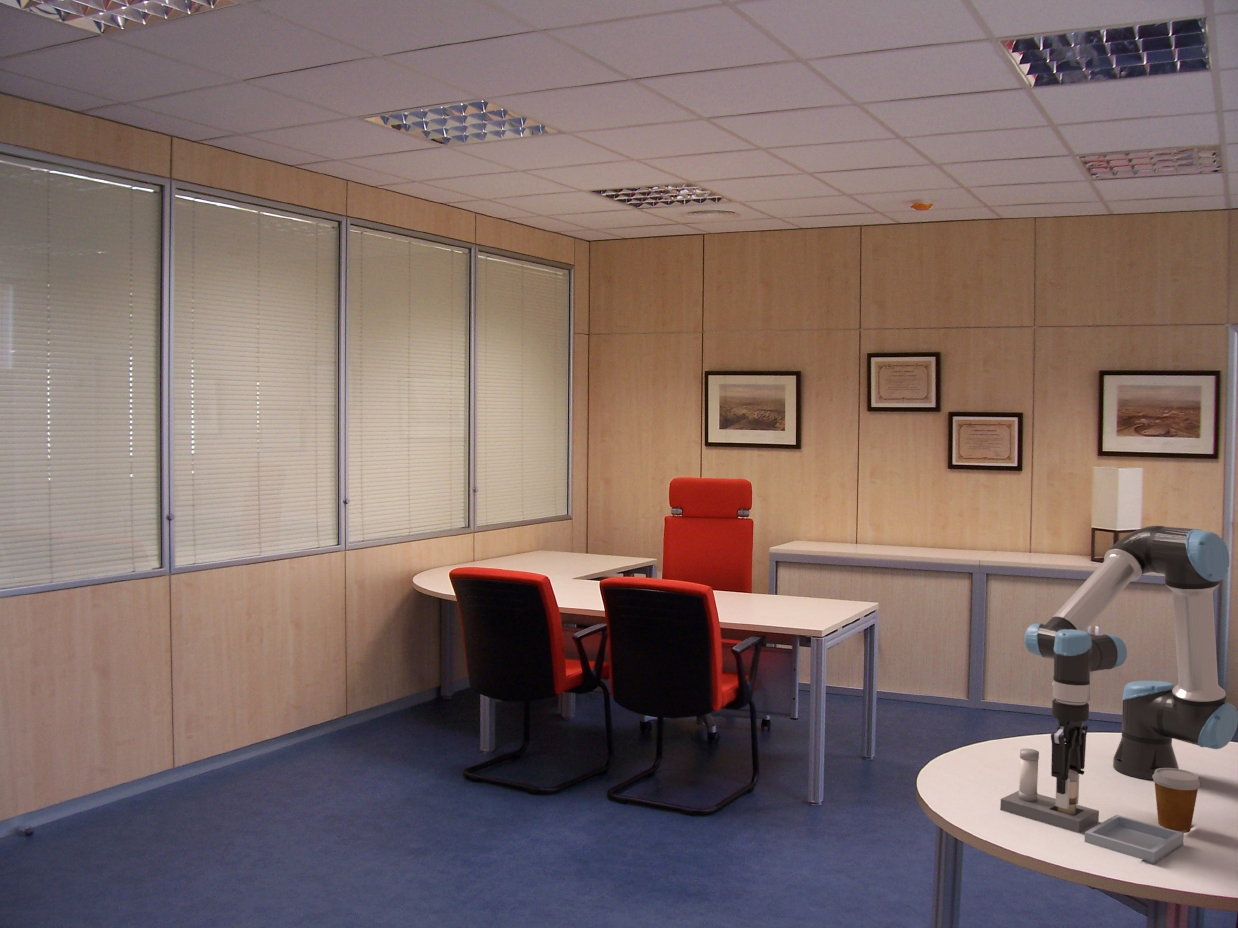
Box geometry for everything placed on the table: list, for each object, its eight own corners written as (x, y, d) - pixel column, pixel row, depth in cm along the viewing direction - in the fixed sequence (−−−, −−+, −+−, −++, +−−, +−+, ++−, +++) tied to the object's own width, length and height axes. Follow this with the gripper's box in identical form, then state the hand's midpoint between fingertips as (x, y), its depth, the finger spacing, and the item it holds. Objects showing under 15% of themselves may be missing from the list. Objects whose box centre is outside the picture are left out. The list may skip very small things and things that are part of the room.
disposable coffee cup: (1197, 838, 232) (1199, 783, 231) (1148, 829, 237) (1150, 775, 236) (1200, 825, 240) (1202, 772, 239) (1152, 816, 245) (1154, 764, 244)
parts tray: (1115, 825, 239) (1116, 814, 239) (1183, 844, 229) (1183, 832, 228) (1084, 843, 228) (1084, 832, 228) (1153, 864, 218) (1153, 852, 218)
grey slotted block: (1021, 801, 253) (1023, 742, 252) (1098, 823, 240) (1100, 761, 239) (1000, 811, 246) (1002, 751, 245) (1078, 834, 233) (1080, 770, 232)
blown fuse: (1061, 815, 243) (1063, 767, 242) (1079, 820, 240) (1080, 772, 239) (1053, 820, 240) (1055, 771, 240) (1071, 825, 237) (1073, 775, 237)
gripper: (1071, 691, 247) (1067, 791, 248) (1036, 703, 236) (1032, 808, 237) (1104, 697, 242) (1100, 800, 243) (1070, 710, 230) (1066, 818, 231)
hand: (1066, 804), depth 240 cm, fingers closed on blown fuse, 4 cm apart
